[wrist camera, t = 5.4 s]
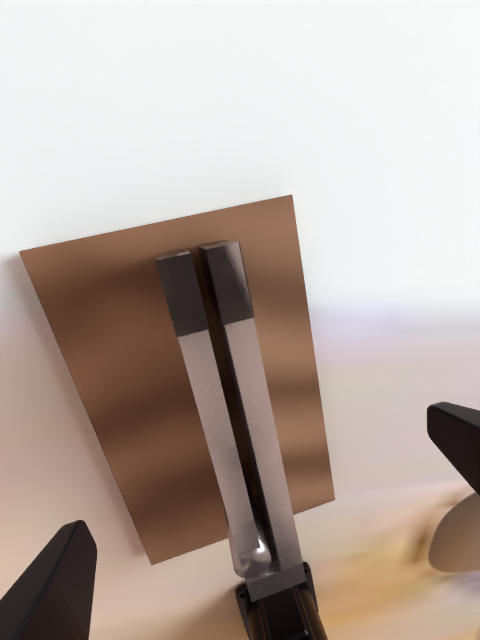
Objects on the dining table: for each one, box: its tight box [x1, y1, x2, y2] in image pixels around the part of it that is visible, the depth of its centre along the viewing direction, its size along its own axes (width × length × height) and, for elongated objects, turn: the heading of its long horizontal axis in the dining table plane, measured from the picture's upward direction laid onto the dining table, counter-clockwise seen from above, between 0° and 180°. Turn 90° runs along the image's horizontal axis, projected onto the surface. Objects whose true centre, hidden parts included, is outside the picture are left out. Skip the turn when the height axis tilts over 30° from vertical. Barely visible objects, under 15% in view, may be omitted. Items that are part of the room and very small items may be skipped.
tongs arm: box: [155, 248, 271, 578], centre depth 16 cm, size 17×2×5 cm, turn 11°
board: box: [19, 195, 335, 565], centre depth 19 cm, size 22×14×1 cm, turn 12°
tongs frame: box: [197, 240, 306, 602], centre depth 16 cm, size 19×3×5 cm, turn 12°
